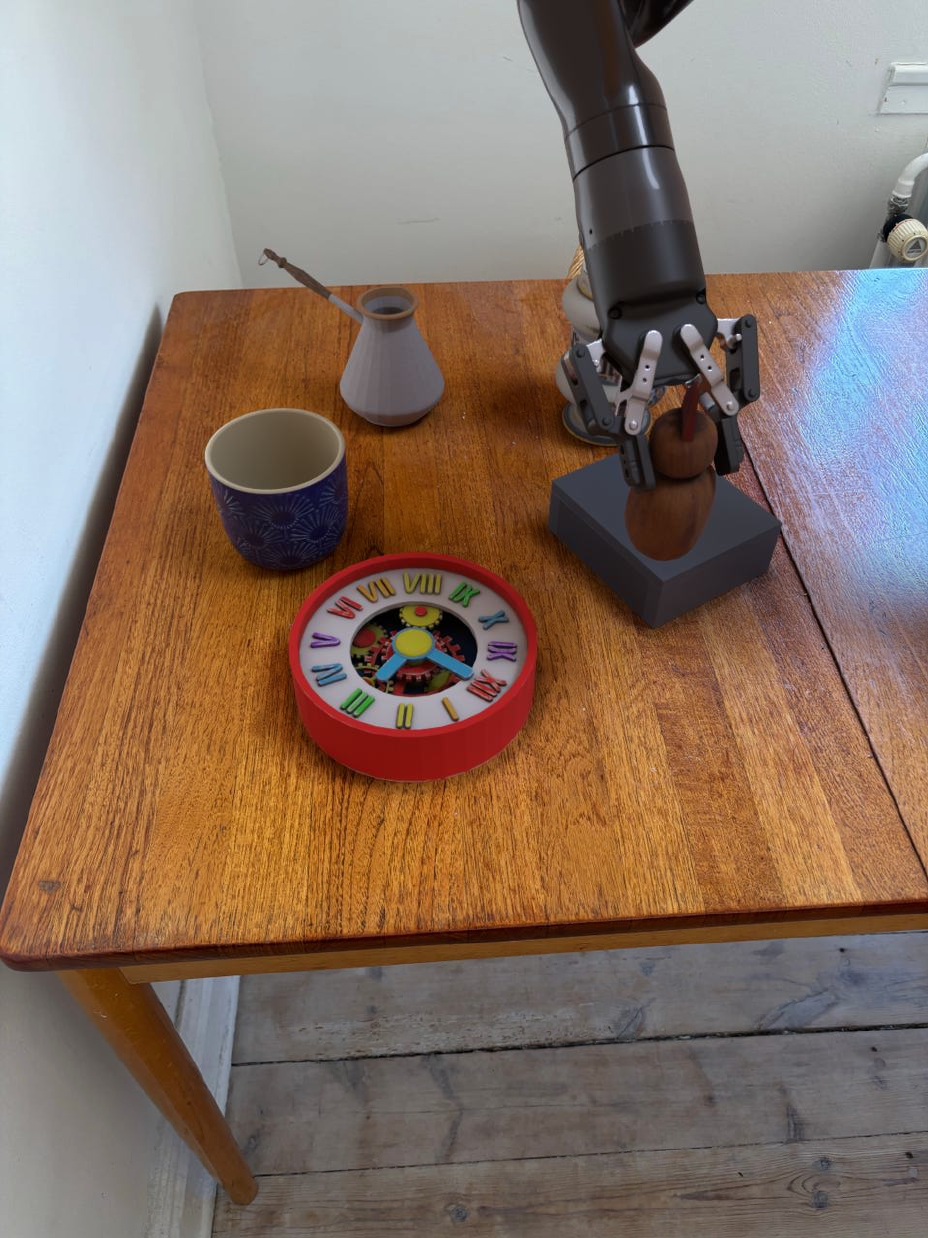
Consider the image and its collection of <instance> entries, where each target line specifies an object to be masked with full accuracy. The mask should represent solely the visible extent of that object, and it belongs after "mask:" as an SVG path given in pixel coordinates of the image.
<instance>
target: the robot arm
mask: <svg viewBox="0 0 928 1238" xmlns="http://www.w3.org/2000/svg"><path fill="white" fill-rule="evenodd" d="M515 1H516V9H517V14H518V19H519V23H520V25H521V29H522V32H523V36H524V38H525V42H526V43H527V46H528V49H529V51H530V54H531V56H532V59H533V62H534V63H535V66H536V69H537V71H538V74H539V77H540V79H541V81H542V84H543V86H544V89H545V91H546V93H547V95H548V96H549V99H550V100H551V102H552V104H553V107H554V109H555V111H556V114H557V116H558V118H559V122H560V126H561V129H562V130H561V131H562V137H563V144H564V149H565V153H566V159H567V163H568V168H569V173H570V178H571V182H572V189H573V195H574V208H575V209H574V210H575V218H576V224H577V230H578V242H579V246H580V247H581V250H582V253H583V258H584V260H585V264H586V269H587V273H588V278H589V283H590V288H591V292H592V297H593V302H594V307H595V312H596V316H597V318H598V321H599V334H598V338H597V341H594V342H592V343H589V344H586V345H584V344H582V343H579V344H576V345H575V346H573V347H572V348H571V349H569V348H568V349H569V350H568V349H567V350H568V351H567V350H566V351H567V352H566V351H565V352H566V353H565V352H564V353H563V354H562V355H561V357H560V358H561V359H560V358H559V360H560V362H561V366H562V368H563V371H564V373H565V376H566V379H567V381H568V384H569V387H570V389H571V392H572V394H573V397H574V400H575V402H576V405H577V408H578V410H579V413H580V416H581V418H582V421H583V423H584V426H585V429H586V431H587V433H588V434H589V435H591V436H597V435H599V436H605V437H610V438H612V439H613V440H614V441H615V442H616V444H617V446H616V448H617V451H618V452H619V456H620V461H621V465H622V471H623V476H624V480H625V482H626V483H627V485H628V487H629V486H633V488H634V491H635V493H637V494H638V493H643V492H647V491H651V490H654V489H655V487H656V482H655V477H654V473H653V468H652V463H651V458H650V453H649V448H648V443H647V440H648V439H647V434H645V435H641V434H640V431H641V429H642V424H643V418H644V413H645V408H646V404H647V402H648V401H649V399H650V396H651V391H652V390H653V389H655V388H657V387H659V386H661V385H664V386H668V387H677V386H682V388H683V389H684V390H685V391H686V390H687V388H689V387H690V385H693V383H694V380H695V379H696V380H698V384H697V387H700V392H699V400H698V405H699V407H700V409H701V411H702V412H703V413H705V414H706V415H708V416H709V417H710V418H711V419H712V421H713V422H714V424H715V425H716V429H717V435H718V443H717V448H716V452H715V455H714V459H713V465H714V470H715V471H716V473H717V475H718V476H723V477H725V476H729V475H731V474H736V473H738V472H739V471H740V469H741V465H740V464H741V463H744V457H745V451H744V448H743V442H742V438H741V433H740V427H739V423H738V415H739V412H740V411H741V410H743V408H745V407H747V406H748V405H750V404H752V403H754V402H757V401H758V400H759V399H760V397H761V379H760V378H761V377H760V355H759V354H760V353H759V335H758V334H759V333H758V320H757V318H756V317H755V316H754V315H753V314H751V313H746V314H744V315H742V316H740V317H738V318H717V315H716V314H715V312H714V311H713V310H712V308H711V307H710V305H709V303H708V300H707V280H706V275H705V271H704V265H703V261H702V255H701V250H700V246H699V240H698V236H697V235H698V234H697V232H696V231H697V230H696V226H695V225H696V224H695V221H694V215H693V211H692V206H691V201H690V197H689V192H688V187H687V184H686V181H685V177H684V174H683V172H682V169H681V166H680V163H679V160H678V157H677V152H676V146H675V142H674V141H675V140H674V137H673V132H672V127H671V126H672V125H671V121H670V116H669V113H668V107H667V102H666V98H665V95H664V92H663V89H662V86H661V84H660V81H659V80H658V78H657V76H656V74H654V73H653V71H652V70H651V69H650V68H649V67H648V66H647V64H645V62H644V61H643V60H642V58H641V57H640V55H639V54H638V52H637V49H638V48H640V47H642V46H643V45H645V44H646V43H647V42H649V41H650V40H652V39H654V37H656V36H657V35H658V34H659V33H660V32H661V31H662V30H664V29H665V28H666V27H667V26H668V25H669V24H670V23H671V22H672V21H674V20H675V18H676V17H678V16H679V15H680V14H681V13H683V11H684V10H686V8H687V7H689V6H690V5H691V4H692V3H693V2H694V1H695V0H515ZM715 338H716V339H717V341H718V346H719V349H720V350H722V351H723V352H724V358H725V374H724V372H723V371H722V369H721V368H720V366H719V364H718V362H717V361H716V360H715V358H714V357H713V355H712V354H711V352H710V350H711V348H712V346H713V343H714V342H715V341H714V340H715ZM601 356H602V357H603V358H604V359H605V360H606V361H607V362H608V363H609V364H610V365H611V366H612V367H613V368H614V369H615V370H616V371H617V372H618V373H619V374H620V378H619V383H618V388H617V393H616V398H615V405H616V411H615V415H613V413H612V410H611V407H610V405H609V402H608V399H607V397H606V394H605V391H604V389H603V386H602V383H601V381H600V378H599V375H598V373H599V372H600V370H601ZM725 378H726V380H725ZM725 381H726V382H725ZM618 452H617V453H618Z"/></svg>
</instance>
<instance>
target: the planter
mask: <svg viewBox="0 0 928 1238" xmlns="http://www.w3.org/2000/svg"><path fill="white" fill-rule="evenodd" d="M346 450H347V449H346V441H345V437H344V435H343V433H342V431H341V430H340V429H339V427H338V426H337V425H336V424H335V423H334V422H332V420H330V419H328V418H326V417H325V416H323V415H321V414H318V413H316V412H313V411H309V410H306V409H299V408H290V407H277V408H268V409H267V408H265V409H261V410H256V411H253V412H249V413H246V414H244V415H240V416H239V417H236V418H234V419H232V420H230V421H228V422H227V423H226V424H224V425H223V426H221V427H220V428H219V429H218V430H216V432H214V434H213V435H212V436H211V438H210V439H209V440H208V443H207V445H206V447H205V450H204V451H205V452H204V462H205V466H206V469H207V474H208V477H209V481H210V485H211V488H212V492H213V496H214V500H215V502H216V507H217V510H218V513H219V516H220V519H221V522H222V525H223V528H224V531H225V533H226V535H227V538H228V540H229V542H230V543H231V545H232V546H233V548H234V549H235V551H236V552H237V553H238V554H239V555H240V556H241V557H242V558H243V559H245V560H246V561H248V562H250V563H252V564H254V565H255V566H258V567H261V568H265V569H269V570H279V571H288V570H297V569H302V568H306V567H309V566H311V565H313V564H316V563H318V562H320V561H322V560H323V559H325V558H326V557H328V556H329V555H331V553H333V552H334V551H335V550H336V548H338V546H339V545H340V544H341V542H342V540H343V538H344V536H345V533H346V529H347V524H348V519H349V516H348V515H349V485H348V484H349V483H348V467H347V452H346Z"/></svg>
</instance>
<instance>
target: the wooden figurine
mask: <svg viewBox="0 0 928 1238" xmlns="http://www.w3.org/2000/svg"><path fill="white" fill-rule="evenodd" d="M697 384H698V380H696V379H695V380H694V383H693V385H690V387H689V388H687V390H685V393H684V396H683V399H682V402H681V405H680V406H679V407H675V408H671V409H668V410H666V411H664V412H663V413H661V415H660V416H658V417H657V418H656V419H655V420H654V423H652V426H651V428H650V431H649V435H648V439H647V440H648V448H649V453H650V458H651V463H652V468H653V473H654V477H655V482H656V487H655V489H654V490H651V491H647V492H643V493H638V494H637V493H635V491H634V488H633V486H631V487H630V491H629V495H628V498H627V502H626V507H625V513H624V517H625V526H626V529H627V533H628V536H629V538H630V540H631V542H632V544H633V545H634V547H635V549H636V550H637V551H639V552H640V553H642V554H643V555H645V556H647V557H649V558H651V559H653V560H656V561H669V560H674V559H678V558H681V557H682V556H684V555H686V554H687V553H688V552H689V551H690V550H691V549H692V548H693V547H694V545H695V544H696V542H697V541H698V539H699V538H700V536H701V534H702V532H703V530H704V528H705V526H706V523H707V521H708V518H709V516H710V513H711V511H712V507H713V503H714V498H715V490H716V474H715V471H716V470H715V467H713V465H712V464H713V463H714V460H713V459H714V455H715V452H716V448H717V443H718V435H717V429H716V425H715V424H714V422H713V421H712V419H711V418H710V417H709V416H708V415H706V414H705V413H704V411H703V410H699V409H698V405H699V404H698V400H699V392H700V387H697Z"/></svg>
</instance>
